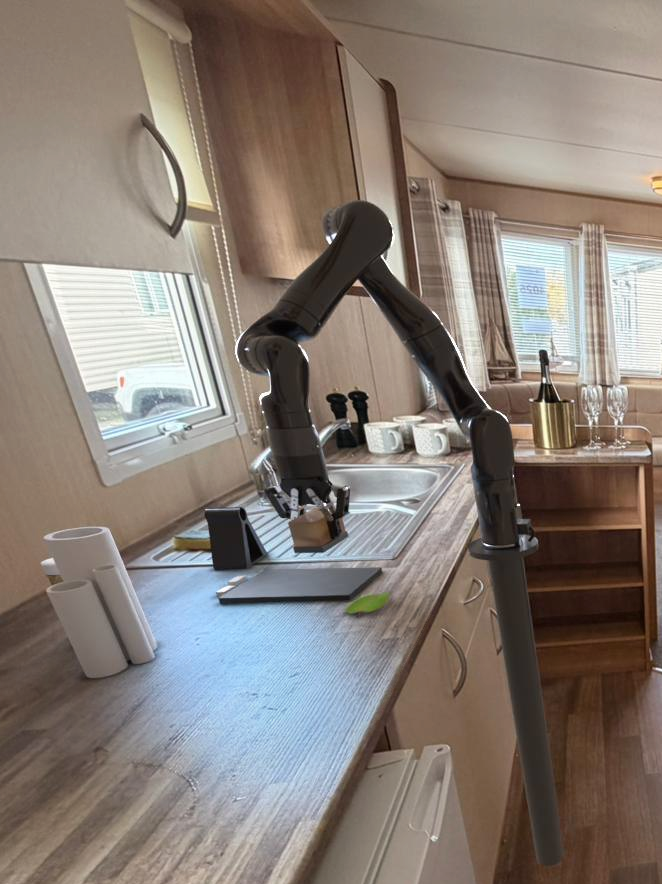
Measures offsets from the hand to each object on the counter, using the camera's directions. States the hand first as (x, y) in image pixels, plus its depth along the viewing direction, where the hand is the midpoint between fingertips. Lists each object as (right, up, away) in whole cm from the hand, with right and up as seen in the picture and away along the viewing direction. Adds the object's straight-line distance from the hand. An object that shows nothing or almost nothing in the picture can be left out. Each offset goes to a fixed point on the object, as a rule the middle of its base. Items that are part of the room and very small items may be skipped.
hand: (320, 537), depth 124 cm
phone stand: (-28, -4, +14) cm, 31 cm away
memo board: (-5, -10, +3) cm, 11 cm away
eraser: (0, -1, +1) cm, 1 cm away
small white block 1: (-17, -10, -2) cm, 20 cm away
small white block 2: (-19, -8, +3) cm, 21 cm away
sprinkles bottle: (-24, -18, -18) cm, 35 cm away
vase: (-12, -22, -24) cm, 35 cm away
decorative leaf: (+12, -13, -3) cm, 18 cm away
